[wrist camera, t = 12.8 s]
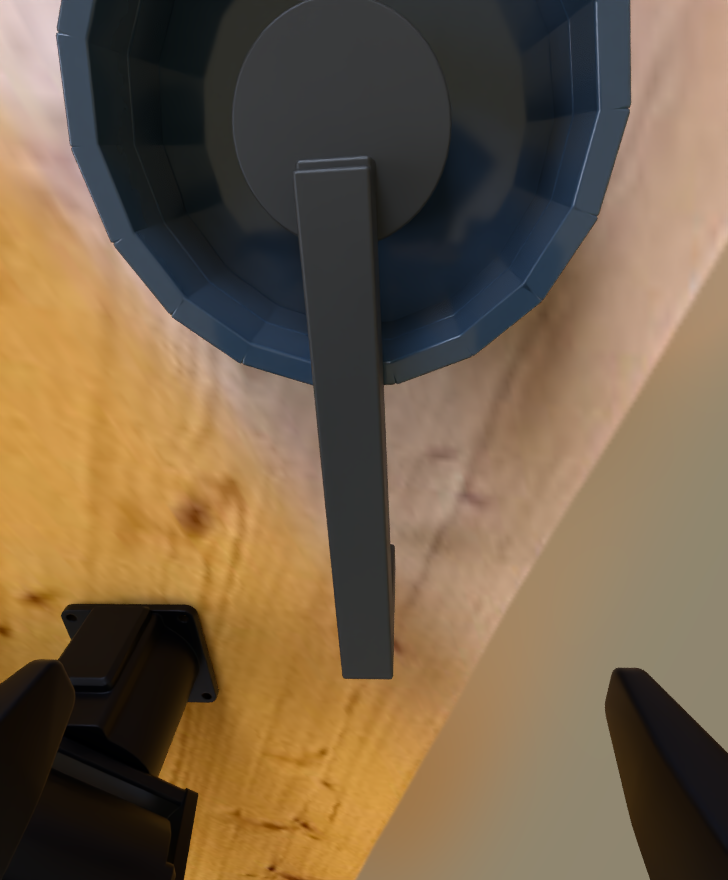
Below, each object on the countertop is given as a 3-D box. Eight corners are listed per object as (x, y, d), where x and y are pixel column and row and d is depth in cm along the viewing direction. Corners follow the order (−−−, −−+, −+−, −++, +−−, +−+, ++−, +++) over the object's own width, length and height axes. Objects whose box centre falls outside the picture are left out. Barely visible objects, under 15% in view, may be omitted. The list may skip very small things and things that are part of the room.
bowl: (551, 329, 18) (591, 379, 14) (191, 342, 19) (137, 393, 16) (607, -194, 13) (700, -349, 9) (88, -135, 14) (-41, -249, 10)
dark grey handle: (440, 567, 22) (451, 681, 17) (312, 567, 22) (285, 679, 17) (444, 19, 14) (465, -68, 9) (248, 36, 15) (169, -38, 10)
